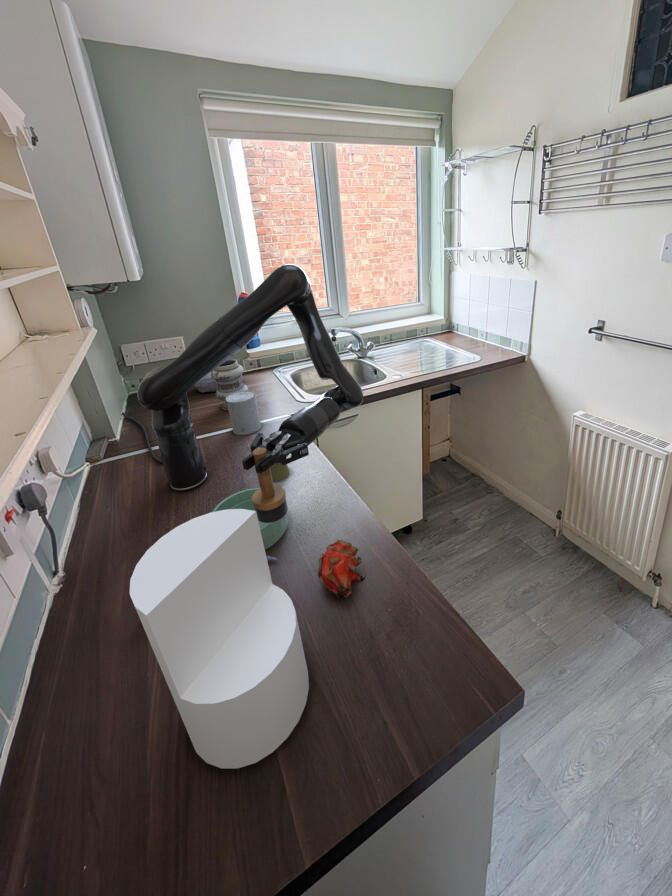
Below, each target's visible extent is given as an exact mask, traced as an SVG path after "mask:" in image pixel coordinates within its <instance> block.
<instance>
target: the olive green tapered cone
mask: <svg viewBox="0 0 672 896" xmlns="http://www.w3.org/2000/svg"><path fill="white" fill-rule="evenodd" d="M270 470H271V475H272V480H273V482H278V481H282V480H285V479H286V478H288V477H289V475H290V469H289V467H288V464H286V465H282V464H281V463H278V464H277V465H272V466H271V467H270Z"/></svg>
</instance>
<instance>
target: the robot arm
mask: <svg viewBox="0 0 672 896" xmlns="http://www.w3.org/2000/svg"><path fill="white" fill-rule="evenodd" d="M285 307H287V308H288V310H289V311H290V313H291V314H292V316H293V318H294V319H295V322H296V323H297V326H298V328H299V330H300V333H301V335H302V339H303V342H304V345H305V348H306V350H307V353H308V356H309V358H310V361H311V363H312V365H313V368H314V369H315V371H316V374H317V376H318V377H319V379H320V380H322V381H328V380H332V381H333V382H334V383H335V384H336V386H334V387H332V388H330V389H327V390H326V391H324V392H323V393H322V394H321V395H320V397H318V399H316V400H314V401H312V402H311V403H309V404H308V405H307V406H304V407H302V408H301V409H299V410H298V411H297V412H295V413H293V414H292V415H291V416H289V417H288V418H286V419H285V420H283V421H282V422H281V423H280V426H279V428H278V429H277V430H276V431H273V432H271V433H270V434H269V435H264V433H263V432H258V433H256V435H255V437H254V438H253V440H252V441H251V444H250V445H249V448H250V452H251V453H250V454H248V455H247V456H245V457H244V458H243V459H242V461H241V462H242V468H243V470H245V471H249V470H251V469H252V468H253V467H254V469H255V473H256V474H257V473H258V474H261V473H262V472H264V471H266V470H267V469H269V468H270V467H271V466H272V465H277V464H278V463H281V464H282V465H286V464H287V465H288V464H291V463H294V462H296V461H298V460H300V459H303V458H305V457H307V456H309V454H310V452H309V447H308V446H310V445H311V444H312V443H314V442H315V441H316V440H317V439H318V438H320V437H321V436H322V435H323V434H324V433H325V432H326V430H328V429H329V428H330V427H331V426H333V424H334V423H336V422H337V420H338V419H339V417H340V415H341V414H342V413H345V412H347V411H350V410H353V409H356V408H358V407H360V406H361V405H362V403H363V401H364V391H363V388H362V386H361V384H360V382H358V381H357V379H356V378H355V377H354V376H353V374H352V373H351V371H349V370H348V368H347V367H346V366H345V364H344V363H343V361H342V358H341V356H340V354H339V352H338V349H337V347H336V346H335V344H334V342H333V339H332V337H331V335H330V334H329V332H328V330H327V328H326V326H325V324H324V322H323V319H322V317H321V315H320V313H319V310H318V306H317V304H316V301H315V297H314V293H313V289H312V282H311V280H310V278H309V276H308V275H307V273H306V272H305V270H303V268H301V267H300V266H299V265H296V264H290V263H288V264H287V263H286V264H282V265H281V266H278V267H277V268H276V269H274V270H273V271H272V272H271V273H270V274H269V275H268V276H267V277H266V278H265V279H264V280H263V281H262V282H261V283H260V285H258V286H257V287H256V288H255V289H254V290H253V291H252V292H250V294H249V295H248V296H246V297H245V298H244V299H242V300H240V301H239V302H238V303H237V304H235V305H234V306H232V307H231V308H229V309H228V310H227V311H226V312H224V313H223V314H222V315H221V316H219V317H218V318H217V319H216V320H214V321H213V322H211V324H209V325H208V326H207V327H206V328H205V329H203V330H202V331H201V332H200V333H198V335H197V336H196V337H195V338H194V339H193V340H192V341H191V342H190V343H189V345H188V346H187V347H186V348H185V349H184V350H183V351H182V353H180V354H179V356H178V357H177V358H176V359H174V360H173V361H172V362H171V363H168V364H167V365H166V366H158V367H154V368H152V369H150V370H149V371H148V372H146V374H145V376H144V377H143V378H142V380H141V381H140V383H139V384H138V387H137V393H136V394H137V400H138V403H139V404H140V406H142V407H143V408H144V409H146V410H149V411H151V428H152V431H153V434H154V438H155V440H156V444H157V446H158V450H159V452H160V454H159V455H160V458H158V457H157V456H156V455H155V453H154V451H153V449H152V446H151V443H150V439H149V434H148V431H147V429H146V427H145V426H144V425H143V423H141V421H139V420H137V419H136V418H134V417H131V416H130V415H128V414H126V413H124V412H123V411H121V412H122V414H121V416H124V417H125V418H127V419H129V420H130V421H133V422H135V423H136V424H137V425H138V426H140V427H141V429H142V431H143V434H144V438H145V443H146V445H147V449H148V451H149V453H150V456H151V457H152V459H154V460H155V461H156V462H158V463H159V464H162V466H163V469H164V472H165V475H166V479H167V481H168V484H169V485H170V488H171V490H173V491H175V492H186V491H190V490H193V489H195V488H198V487H199V486H201V485H203V483H204V482H206V481H207V479H208V474H207V472H208V470H207V467H206V466H205V465H204V460H203V456H202V453H201V449H200V445H199V442H198V439H197V435H196V431H195V428H194V424H193V420H192V416H191V406H190V402H189V398H188V394H187V392H188V391H190V389H192V388H193V386H195V384H196V383H197V382H198V381H199V380H200V379H201V378H203V377H204V376H206V375H207V374H209V373H210V372H212V371H213V370H214V369H216V368H217V367H219V366H220V365H221V364H223V363H224V362H225V361H227V360H228V359H232V357H234V356H235V355H236V354H237V353H239V352H240V351H241V350H243V349H244V348H245V347H246V346H247V345H248V344H250V342H251V341H252V340H253V339H254V337H255V336H256V335H257V334H258V333H259V332H260V330H261V329H262V328H263V326H264V325H265V323H266V322H267V321H268V320H269V319H270V318H271V317H273V316H274V315H275V314H277V313H278V312H279V311H281V310H283V309H284V308H285ZM257 448H266V450H267V455H266V456H265V457H264V458H262V459H261V460H260V461H258V462H257V463H256V464H255V461H254V456H253V451H254V450H255V449H257ZM288 456H290V457H288Z"/></svg>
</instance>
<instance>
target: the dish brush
mask: <svg viewBox="0 0 672 896" xmlns="http://www.w3.org/2000/svg"><path fill="white" fill-rule="evenodd" d="M266 455H267V450H266V448H257V449H255V450H254V451H253V456H254V461H255V464H256V463H257V462H258V461H260V460H261V459H262V458H264V457H265V456H266ZM256 474H257V479H258V483H259V488H260V489H258V490H257V491H256V492H255V493H254V494H253V496H252V501H253V505H254V508H255V511H256V513H257V518H258V520H259V521H261V522H263V523H271V522H275V521H278V520H280V519H281V518H283V517H284V516H285V515H286V513H287V514H288V510H289V507H288V502H287V495H286V494H287V493H286V490H285V488H284V487H283V486H282V485H280V484H274V481H273V480H272V475H271V470H270V468H269V469H267V470H266V471H264V472H262V473H261V474H258V473H256Z"/></svg>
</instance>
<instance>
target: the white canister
mask: <svg viewBox="0 0 672 896" xmlns="http://www.w3.org/2000/svg"><path fill="white" fill-rule="evenodd" d="M226 402H227V406H228V410H227V411H228V415H229V419H230V422H231V427H232V432H233V433H234V434H235V435H236V436H237V435H238V436H245V435H251V434H254V433H256V432H257V431H259V430H260V429H261V428H262V423H261V417H260V412H259V409H258V408H259V407H258V402H257V397H256V393H255V391H253V390H248V391H238V392H235V393H232V394H230V395H228V396H227V397H226Z"/></svg>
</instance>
